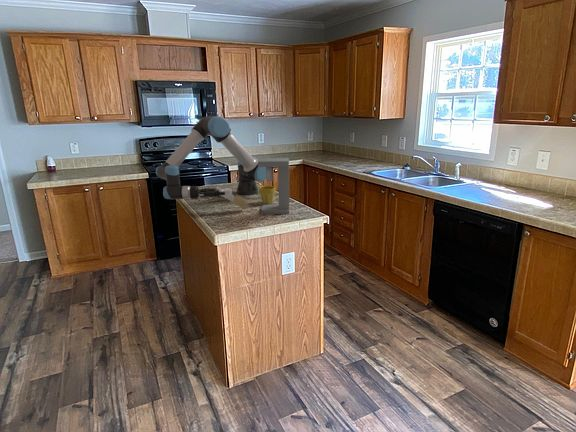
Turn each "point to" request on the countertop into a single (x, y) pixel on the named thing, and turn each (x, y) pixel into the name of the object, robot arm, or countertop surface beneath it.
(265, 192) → the plant pot
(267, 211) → the press stand
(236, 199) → the metal block
